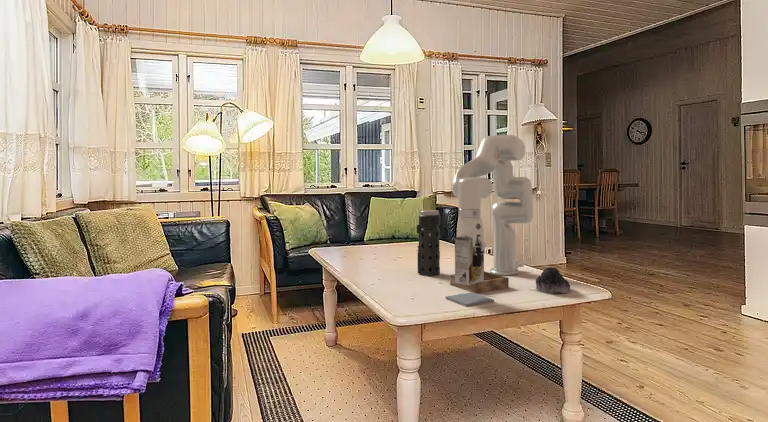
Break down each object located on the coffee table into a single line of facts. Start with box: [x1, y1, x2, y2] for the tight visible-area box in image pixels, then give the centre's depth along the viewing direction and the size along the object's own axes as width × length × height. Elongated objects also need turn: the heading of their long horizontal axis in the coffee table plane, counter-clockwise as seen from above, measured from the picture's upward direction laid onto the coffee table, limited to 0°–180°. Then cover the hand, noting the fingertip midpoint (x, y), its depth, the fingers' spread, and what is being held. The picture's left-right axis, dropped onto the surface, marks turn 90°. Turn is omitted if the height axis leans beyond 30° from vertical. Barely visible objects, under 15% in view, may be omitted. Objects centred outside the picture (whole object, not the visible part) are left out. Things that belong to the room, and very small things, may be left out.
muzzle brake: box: [416, 209, 441, 277], centre depth 222 cm, size 10×28×10 cm
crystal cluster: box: [535, 266, 571, 294], centre depth 190 cm, size 13×14×10 cm
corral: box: [449, 270, 510, 294], centre depth 198 cm, size 16×16×4 cm
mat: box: [445, 292, 495, 307], centre depth 177 cm, size 12×12×1 cm
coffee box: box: [454, 236, 485, 285], centre depth 176 cm, size 9×6×16 cm
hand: (469, 264), depth 176 cm, fingers closed on coffee box, 7 cm apart
